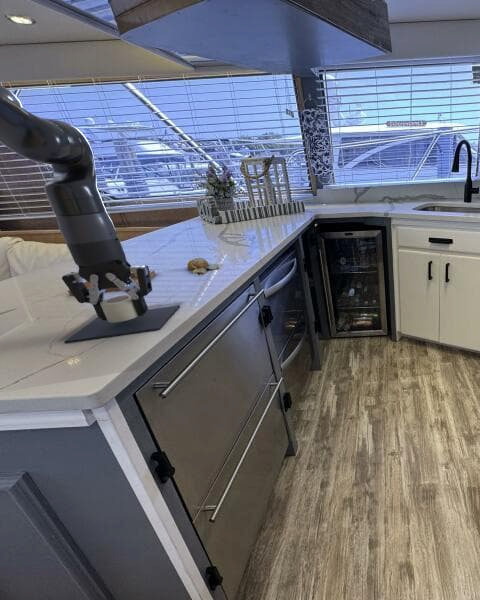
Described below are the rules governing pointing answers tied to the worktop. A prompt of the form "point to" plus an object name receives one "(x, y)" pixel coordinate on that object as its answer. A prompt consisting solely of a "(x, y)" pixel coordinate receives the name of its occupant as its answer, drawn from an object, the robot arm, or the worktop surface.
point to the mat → (124, 325)
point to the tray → (87, 284)
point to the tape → (119, 308)
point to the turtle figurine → (199, 266)
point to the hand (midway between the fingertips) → (125, 316)
